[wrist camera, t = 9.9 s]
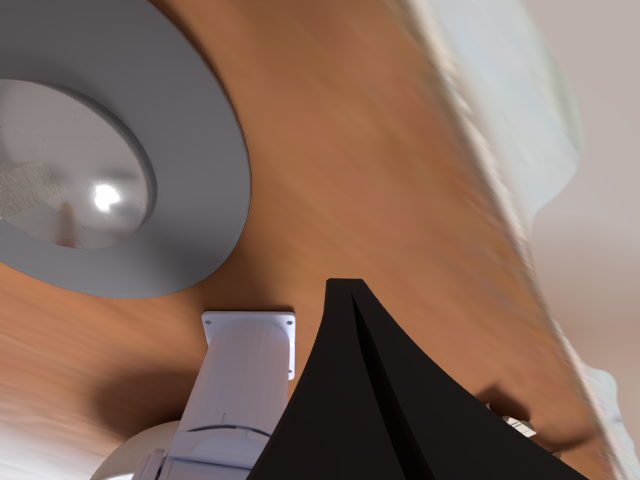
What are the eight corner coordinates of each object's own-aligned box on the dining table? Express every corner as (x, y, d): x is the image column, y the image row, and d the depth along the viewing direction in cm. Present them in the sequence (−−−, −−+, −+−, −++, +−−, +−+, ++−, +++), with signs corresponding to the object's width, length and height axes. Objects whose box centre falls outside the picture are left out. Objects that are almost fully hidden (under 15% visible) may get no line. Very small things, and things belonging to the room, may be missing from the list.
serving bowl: (88, 398, 28) (29, 481, 22) (280, 385, 29) (274, 463, 23) (154, 476, 38) (127, 546, 32) (295, 465, 39) (293, 533, 33)
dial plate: (260, 292, 22) (257, 303, 20) (1, 288, 20) (-17, 300, 19) (235, -45, 12) (228, -59, 11) (-276, -99, 10) (-348, -122, 9)
